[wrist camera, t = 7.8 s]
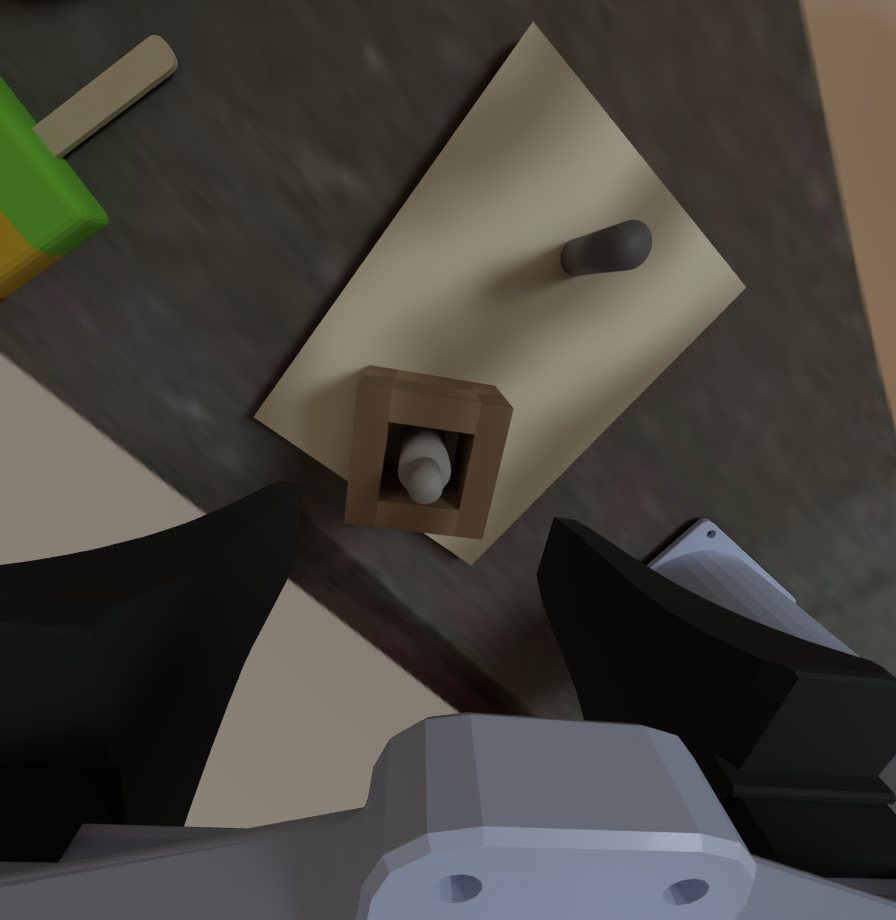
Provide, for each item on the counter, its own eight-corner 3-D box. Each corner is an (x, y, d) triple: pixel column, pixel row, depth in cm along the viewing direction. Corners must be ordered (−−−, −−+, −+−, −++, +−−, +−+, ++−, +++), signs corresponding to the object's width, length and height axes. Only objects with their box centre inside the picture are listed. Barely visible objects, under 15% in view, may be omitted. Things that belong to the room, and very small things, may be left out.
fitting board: (730, 287, 19) (875, 285, 13) (469, 554, 23) (486, 645, 17) (526, 38, 15) (596, -129, 9) (261, 411, 20) (191, 463, 14)
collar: (495, 385, 19) (513, 408, 15) (471, 495, 21) (482, 540, 17) (370, 365, 18) (357, 383, 14) (357, 481, 20) (343, 523, 16)
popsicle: (-174, 212, 16) (-246, 203, 14) (126, -30, 14) (86, -75, 13) (-44, 341, 18) (-94, 346, 16) (235, 143, 16) (213, 125, 14)
